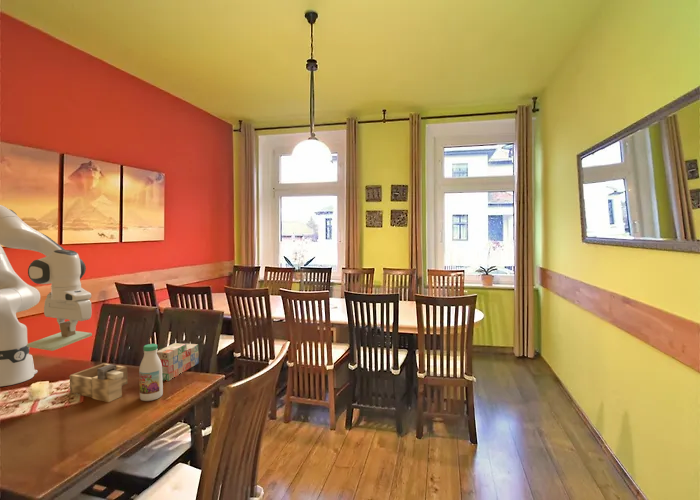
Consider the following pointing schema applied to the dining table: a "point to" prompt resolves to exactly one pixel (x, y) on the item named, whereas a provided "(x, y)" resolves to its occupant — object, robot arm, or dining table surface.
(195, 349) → the stack of blocks
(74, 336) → the lid
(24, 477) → the dining table surface
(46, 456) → the dining table surface
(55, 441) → the dining table surface
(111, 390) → the wooden cabinet
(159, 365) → the milk bottle
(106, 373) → the wooden block
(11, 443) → the dining table surface
